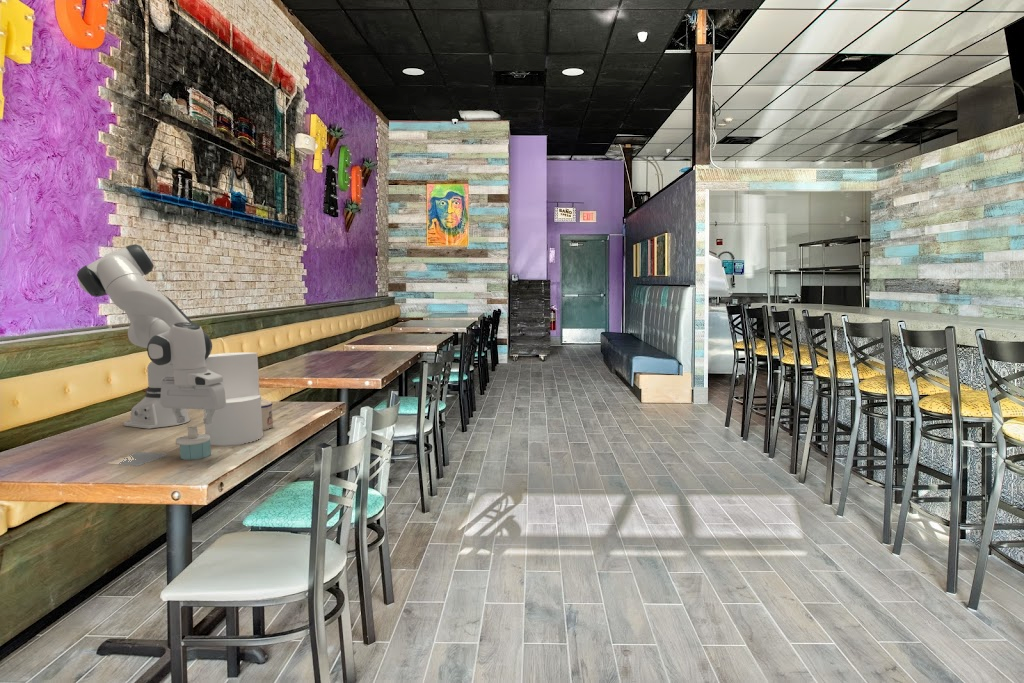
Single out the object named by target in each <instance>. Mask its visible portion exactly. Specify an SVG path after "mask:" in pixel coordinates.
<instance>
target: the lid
mask: <svg viewBox="0 0 1024 683" xmlns="http://www.w3.org/2000/svg"><path fill="white" fill-rule="evenodd" d="M198 429H199V428H198V426H196V425H195V426H194V425H193V426H188V427H187V434H186V435H183V436H180V437H177V438H176V439H175V444H176V445H178V446H180V445H195V444H201V443H204V442H207V441H209V440H210V435H207V434H205V433H199V431H198Z"/></svg>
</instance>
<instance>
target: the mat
mask: <svg viewBox="0 0 1024 683" xmlns="http://www.w3.org/2000/svg"><path fill="white" fill-rule="evenodd" d="M132 454H133V453H131V454H130V453H129V454H128V455H129V456H130V455H131V456H132V457H133V458H134V460H132V461H131V460H130V461H131V462H130V461H129V460H128V458H126V459H127V460H126V461H124V460H123V461H124V462H123V461H122V462H120V463H121V464H120V463H119V464H118V466H129V465H130V467H131V466H133V467H140V466H142V465H145V464H147V463H150V462H153V461H156V460H158V459H159V460H160V459H162V458H164V457H167V456H169V455H171V453H163V452H162V453H158V452H156V453H155V452H144V451H143V452H142V451H137V452H134V454H133V455H132ZM131 456H130V457H131ZM132 457H131V459H132ZM124 459H125V458H124ZM135 459H136V460H135ZM128 461H129V462H128Z"/></svg>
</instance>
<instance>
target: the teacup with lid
mask: <svg viewBox="0 0 1024 683" xmlns="http://www.w3.org/2000/svg"><path fill="white" fill-rule="evenodd" d="M261 410H262V429H263V431H267V430H266V429H268V430H270V429H269V428H271V429H273V426H274V424H273V423H274V422H273V421H274V420H273V402H272V401H270V400H266V398H261Z"/></svg>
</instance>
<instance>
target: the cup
mask: <svg viewBox="0 0 1024 683" xmlns="http://www.w3.org/2000/svg"><path fill="white" fill-rule="evenodd" d="M211 446H212V445H210V440H209V441H207V442H204V443H201V444H195V445H179V456H180V459H181V460H185V461H192V460H193V461H194V460H199V459H204V458H207V457H210V456H211V455H212V447H211Z"/></svg>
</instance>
